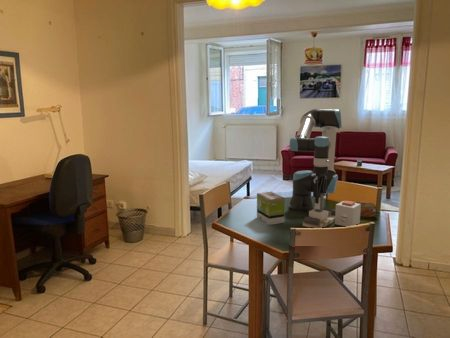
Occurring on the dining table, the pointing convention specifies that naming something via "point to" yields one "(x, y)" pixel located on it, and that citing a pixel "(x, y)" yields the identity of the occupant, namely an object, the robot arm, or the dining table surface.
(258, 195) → the tea box
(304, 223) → the rail board
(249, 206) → the dining table surface
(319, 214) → the grey white tall piece
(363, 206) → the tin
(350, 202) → the button
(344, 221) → the cabinet
